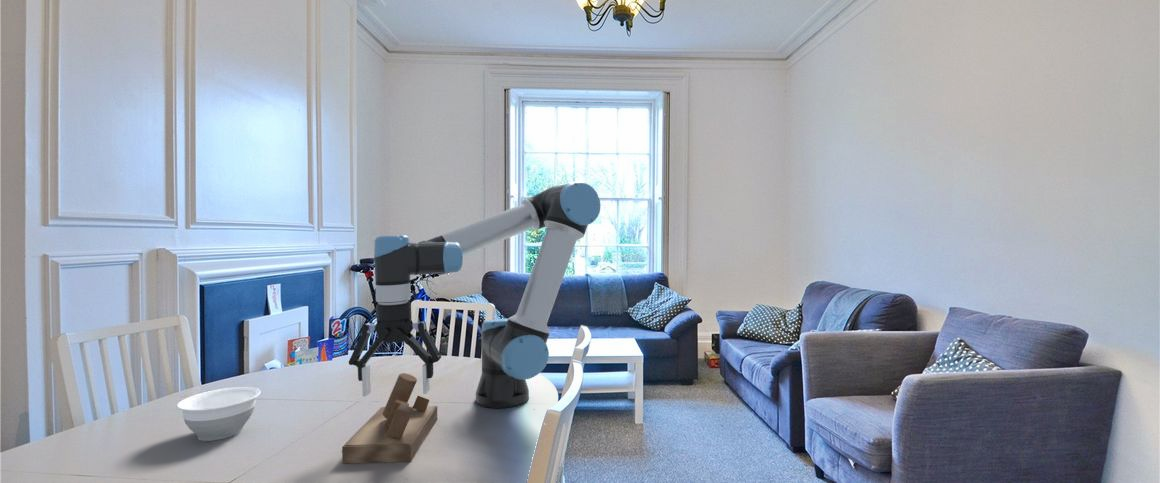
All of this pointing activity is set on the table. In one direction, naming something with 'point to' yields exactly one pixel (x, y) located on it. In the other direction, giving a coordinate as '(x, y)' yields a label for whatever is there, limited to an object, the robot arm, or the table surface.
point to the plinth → (389, 439)
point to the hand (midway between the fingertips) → (396, 393)
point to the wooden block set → (402, 405)
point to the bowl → (219, 411)
